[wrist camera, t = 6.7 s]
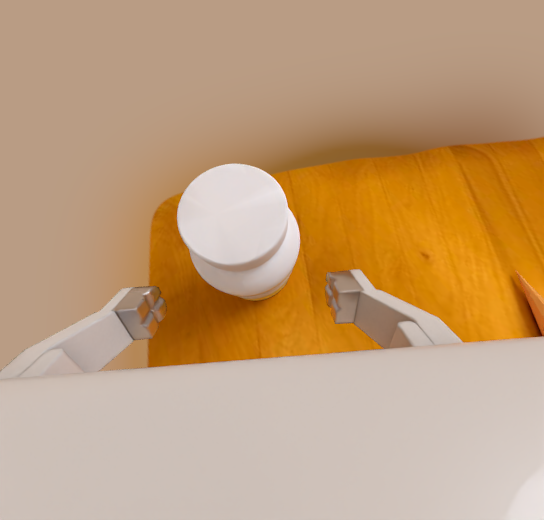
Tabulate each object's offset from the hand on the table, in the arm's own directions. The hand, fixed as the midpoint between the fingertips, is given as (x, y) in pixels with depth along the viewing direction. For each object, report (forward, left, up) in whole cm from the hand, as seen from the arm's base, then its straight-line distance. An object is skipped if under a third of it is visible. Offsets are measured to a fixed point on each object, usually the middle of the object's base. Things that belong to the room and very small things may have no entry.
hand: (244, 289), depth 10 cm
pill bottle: (+1, +3, -9) cm, 10 cm away
